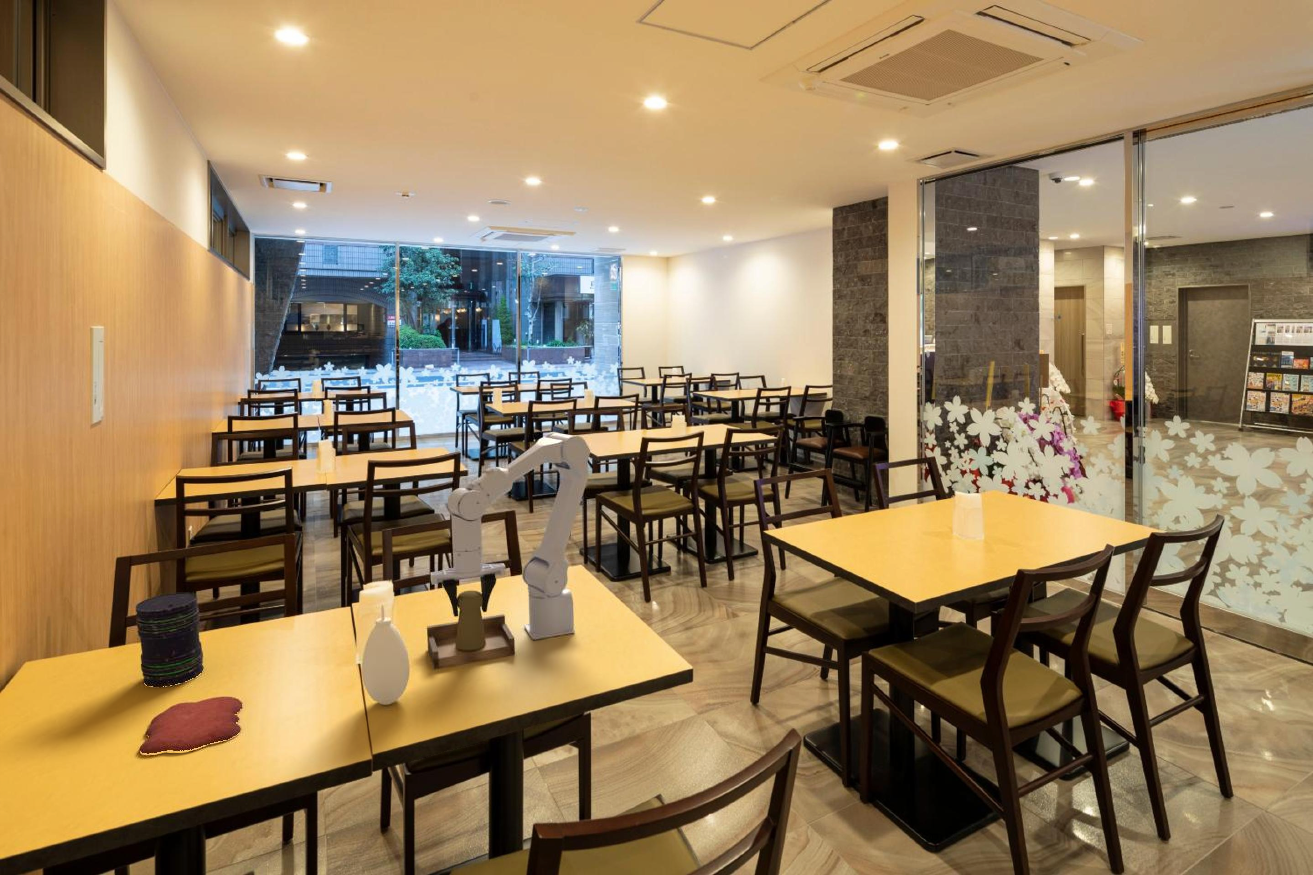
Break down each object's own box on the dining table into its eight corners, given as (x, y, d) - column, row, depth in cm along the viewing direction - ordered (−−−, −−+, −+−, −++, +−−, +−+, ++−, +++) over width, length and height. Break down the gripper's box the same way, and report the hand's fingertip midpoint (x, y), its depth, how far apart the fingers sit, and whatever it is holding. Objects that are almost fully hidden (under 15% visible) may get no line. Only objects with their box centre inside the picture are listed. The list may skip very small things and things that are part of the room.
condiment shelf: (504, 636, 154) (503, 614, 153) (514, 654, 145) (514, 630, 144) (428, 649, 148) (426, 626, 147) (433, 669, 139) (432, 644, 138)
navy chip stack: (137, 676, 136) (129, 601, 134) (196, 659, 143) (189, 588, 141) (149, 693, 129) (141, 615, 127) (211, 675, 137) (204, 600, 135)
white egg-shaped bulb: (366, 717, 121) (360, 616, 118) (362, 697, 128) (356, 601, 125) (414, 706, 124) (409, 608, 122) (407, 687, 131) (402, 594, 129)
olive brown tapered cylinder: (491, 641, 146) (491, 589, 145) (474, 652, 141) (473, 598, 139) (467, 636, 148) (466, 585, 147) (449, 647, 143) (448, 594, 142)
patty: (239, 743, 114) (238, 731, 114) (134, 766, 108) (133, 754, 107) (245, 696, 129) (244, 685, 129) (153, 714, 123) (152, 703, 123)
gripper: (499, 538, 149) (501, 600, 151) (427, 547, 143) (430, 611, 145) (506, 547, 143) (508, 612, 144) (431, 556, 137) (435, 623, 139)
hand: (470, 612), depth 144 cm, fingers closed on olive brown tapered cylinder, 5 cm apart
